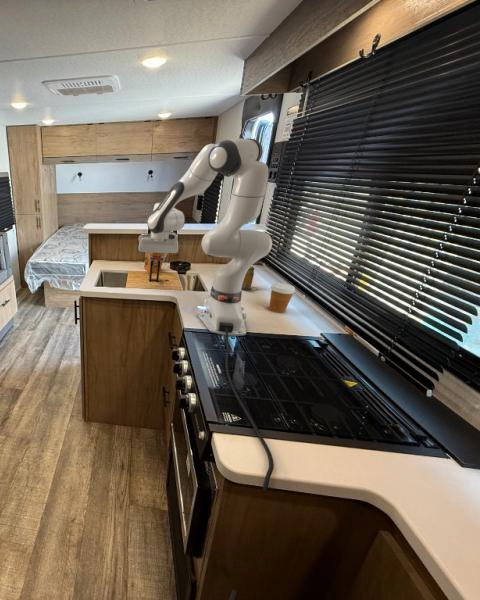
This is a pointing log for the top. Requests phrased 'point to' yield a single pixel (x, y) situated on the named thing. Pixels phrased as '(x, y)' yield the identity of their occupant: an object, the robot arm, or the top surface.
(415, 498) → the top surface
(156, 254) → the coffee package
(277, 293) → the disposable coffee cup
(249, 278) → the condiment
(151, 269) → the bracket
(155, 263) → the lever
